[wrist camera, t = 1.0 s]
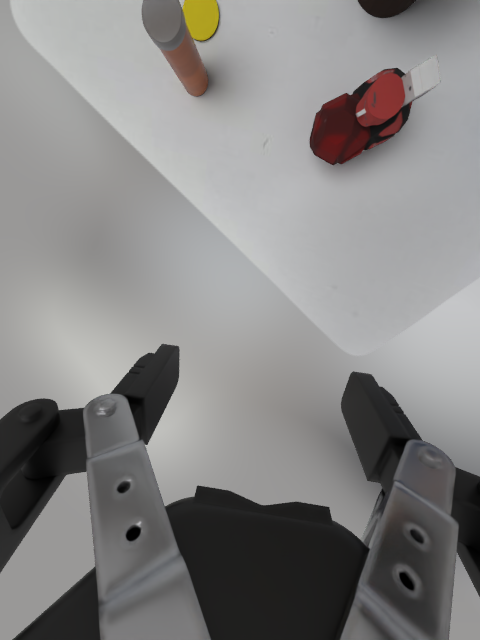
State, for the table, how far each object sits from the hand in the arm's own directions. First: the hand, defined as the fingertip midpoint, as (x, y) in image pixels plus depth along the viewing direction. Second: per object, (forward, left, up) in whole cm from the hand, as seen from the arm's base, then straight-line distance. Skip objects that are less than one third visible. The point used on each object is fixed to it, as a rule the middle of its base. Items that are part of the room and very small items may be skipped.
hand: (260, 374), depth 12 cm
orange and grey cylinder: (-19, -1, -21) cm, 29 cm away
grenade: (-11, +11, -21) cm, 26 cm away
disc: (-23, 0, -21) cm, 32 cm away
